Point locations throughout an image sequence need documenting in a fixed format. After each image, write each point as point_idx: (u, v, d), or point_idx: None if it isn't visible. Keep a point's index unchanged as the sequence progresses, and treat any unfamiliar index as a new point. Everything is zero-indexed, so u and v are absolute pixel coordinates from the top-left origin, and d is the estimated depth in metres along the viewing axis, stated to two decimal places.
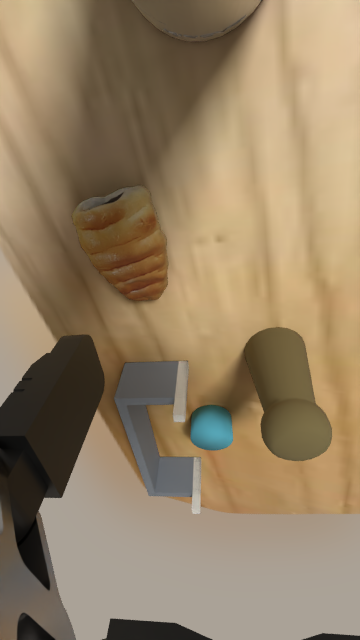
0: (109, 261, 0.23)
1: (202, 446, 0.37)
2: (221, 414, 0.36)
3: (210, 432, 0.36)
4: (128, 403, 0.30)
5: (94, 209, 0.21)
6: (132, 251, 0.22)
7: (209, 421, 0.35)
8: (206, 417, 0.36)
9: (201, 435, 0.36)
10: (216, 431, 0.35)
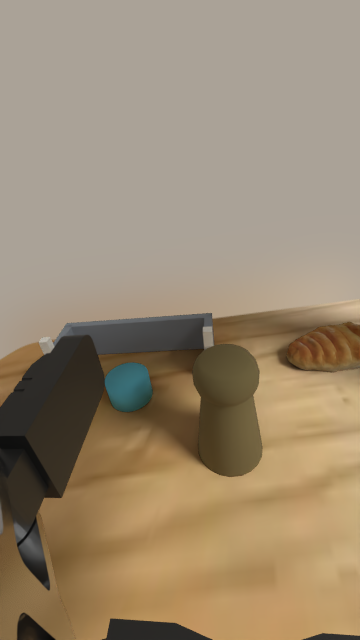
0: (327, 329, 0.37)
1: (114, 370, 0.36)
2: (145, 396, 0.34)
3: (136, 376, 0.35)
4: (206, 318, 0.39)
5: None
6: (339, 338, 0.35)
7: (148, 379, 0.35)
8: (149, 380, 0.35)
9: (134, 369, 0.36)
10: (137, 380, 0.34)
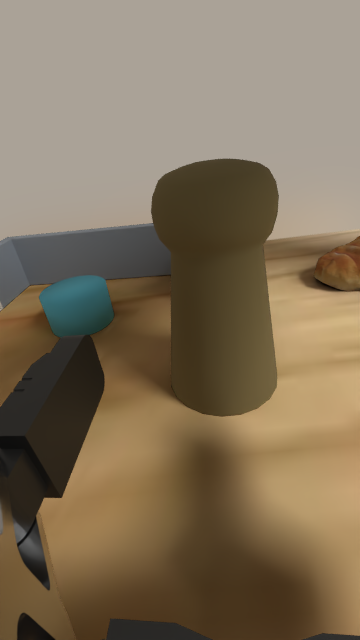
0: None
1: (59, 283, 0.25)
2: (100, 316, 0.23)
3: (88, 287, 0.23)
4: None
5: None
6: None
7: (106, 292, 0.23)
8: (108, 297, 0.24)
9: (86, 281, 0.24)
10: (87, 291, 0.23)
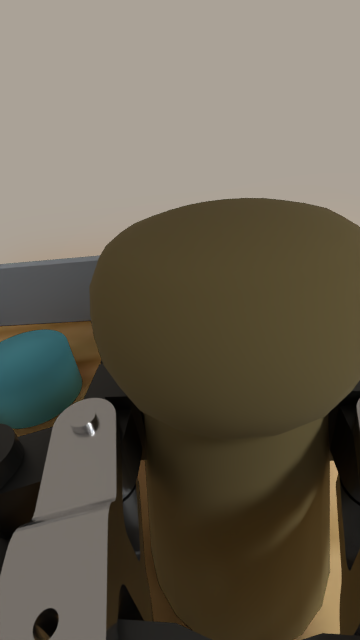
0: None
1: (5, 343, 0.18)
2: (57, 396, 0.16)
3: (41, 353, 0.17)
4: None
5: None
6: None
7: (67, 360, 0.17)
8: (72, 364, 0.17)
9: (42, 341, 0.18)
10: (39, 362, 0.16)
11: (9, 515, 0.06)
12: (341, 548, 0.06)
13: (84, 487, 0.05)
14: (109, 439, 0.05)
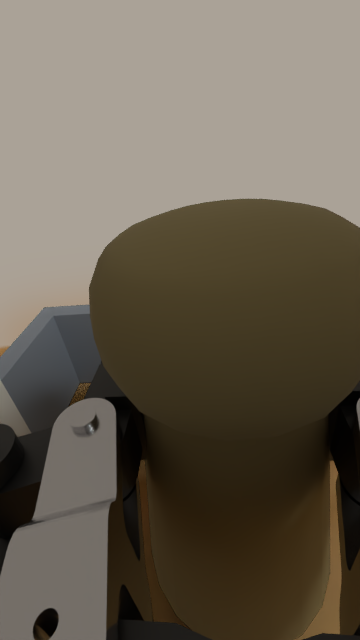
0: None
1: None
2: None
3: None
4: None
5: None
6: None
7: None
8: None
9: None
10: None
11: (9, 515, 0.06)
12: (341, 548, 0.06)
13: (84, 487, 0.05)
14: (109, 439, 0.05)
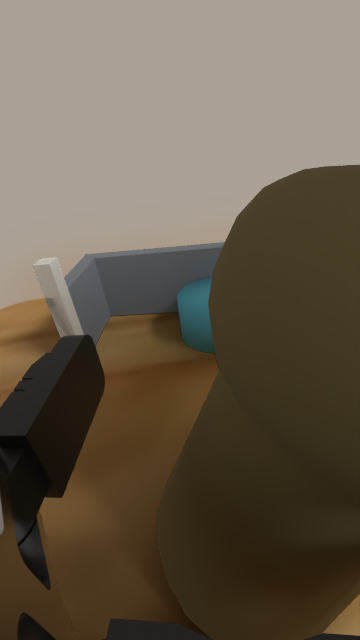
0: None
1: (188, 288, 0.21)
2: None
3: None
4: None
5: None
6: None
7: None
8: None
9: None
10: None
11: None
12: None
13: None
14: None
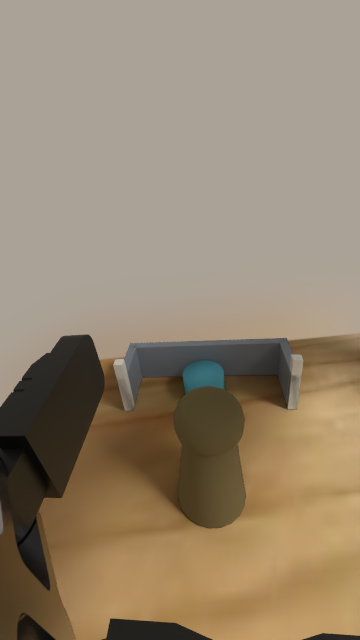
0: None
1: (187, 369, 0.38)
2: (223, 388, 0.37)
3: (212, 370, 0.37)
4: (282, 344, 0.37)
5: None
6: None
7: None
8: None
9: (206, 365, 0.38)
10: (215, 374, 0.37)
11: None
12: None
13: None
14: None
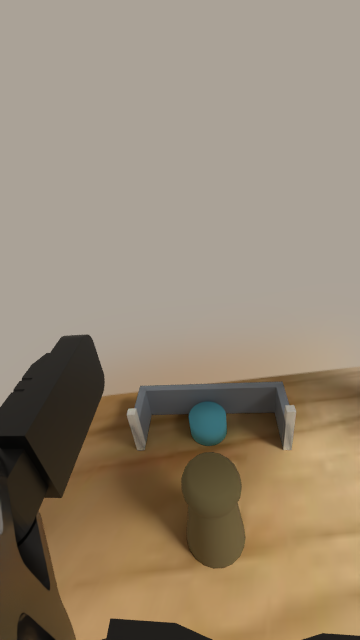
0: None
1: (192, 412, 0.42)
2: (226, 428, 0.41)
3: (215, 413, 0.41)
4: (278, 388, 0.41)
5: None
6: None
7: None
8: None
9: (209, 407, 0.42)
10: (218, 416, 0.41)
11: None
12: None
13: None
14: None
